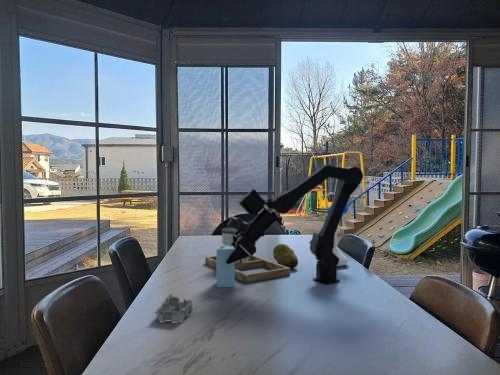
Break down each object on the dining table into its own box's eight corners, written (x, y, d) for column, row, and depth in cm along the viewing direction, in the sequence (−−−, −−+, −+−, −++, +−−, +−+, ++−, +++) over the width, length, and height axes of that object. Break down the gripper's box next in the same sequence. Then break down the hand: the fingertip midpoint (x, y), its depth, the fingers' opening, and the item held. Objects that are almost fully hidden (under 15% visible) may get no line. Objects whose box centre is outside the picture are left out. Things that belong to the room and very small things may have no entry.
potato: (276, 271, 143) (277, 249, 142) (271, 262, 156) (271, 242, 155) (299, 270, 144) (299, 248, 143) (292, 262, 156) (292, 242, 156)
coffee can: (224, 261, 158) (224, 226, 157) (249, 262, 157) (249, 227, 156) (219, 267, 147) (219, 230, 147) (247, 268, 146) (247, 231, 146)
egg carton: (170, 308, 105) (170, 293, 105) (197, 310, 103) (197, 295, 103) (151, 323, 95) (151, 306, 95) (180, 326, 93) (180, 309, 93)
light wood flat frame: (290, 275, 137) (290, 268, 137) (246, 282, 128) (246, 275, 128) (244, 258, 163) (244, 252, 163) (205, 263, 154) (205, 257, 154)
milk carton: (233, 281, 129) (233, 243, 129) (234, 286, 124) (234, 246, 123) (216, 282, 129) (216, 243, 128) (217, 287, 123) (217, 246, 123)
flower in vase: (346, 269, 144) (347, 202, 143) (316, 267, 148) (316, 201, 147) (349, 261, 157) (350, 199, 156) (321, 259, 161) (321, 199, 159)
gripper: (240, 205, 135) (207, 237, 134) (245, 210, 116) (208, 248, 116) (262, 227, 136) (230, 259, 135) (271, 236, 118) (234, 274, 117)
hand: (225, 259), depth 126 cm, fingers open, 9 cm apart
